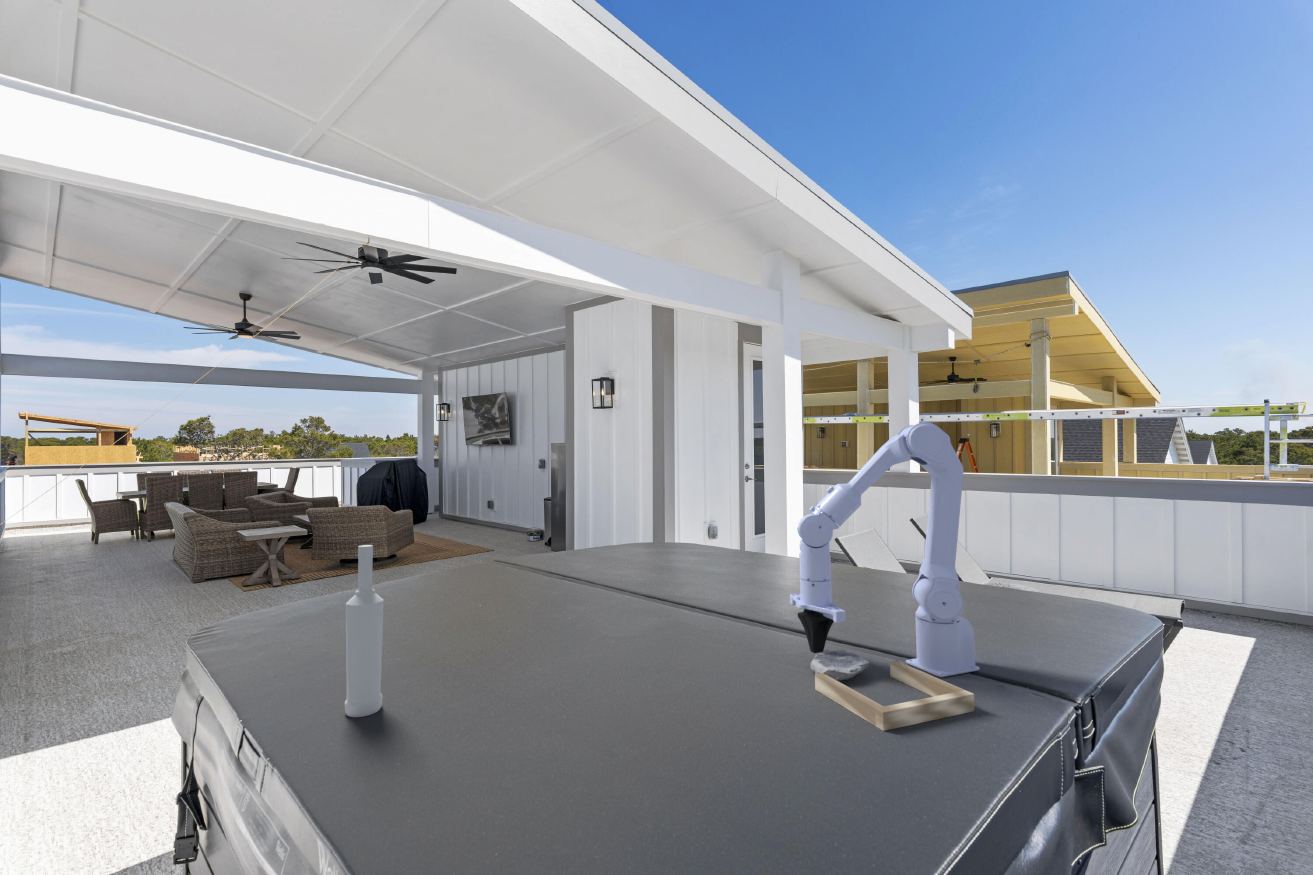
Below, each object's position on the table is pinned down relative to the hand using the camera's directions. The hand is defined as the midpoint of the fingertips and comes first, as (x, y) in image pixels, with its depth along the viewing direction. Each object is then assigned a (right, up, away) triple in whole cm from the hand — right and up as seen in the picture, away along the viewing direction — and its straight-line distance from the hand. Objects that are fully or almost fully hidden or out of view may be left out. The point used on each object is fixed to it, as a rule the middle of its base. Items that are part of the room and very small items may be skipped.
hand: (817, 651), depth 107 cm
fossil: (+2, -2, -6) cm, 7 cm away
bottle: (-75, -2, -20) cm, 77 cm away
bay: (+6, -1, -17) cm, 18 cm away
